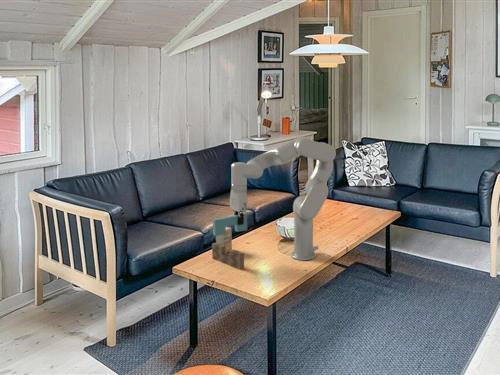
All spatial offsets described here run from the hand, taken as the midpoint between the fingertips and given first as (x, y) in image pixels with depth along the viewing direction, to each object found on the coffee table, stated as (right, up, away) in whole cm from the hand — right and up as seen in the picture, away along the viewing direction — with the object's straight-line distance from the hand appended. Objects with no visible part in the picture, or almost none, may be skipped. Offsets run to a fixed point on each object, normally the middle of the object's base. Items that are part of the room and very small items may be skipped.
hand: (238, 223), depth 251 cm
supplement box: (-8, -17, +18) cm, 26 cm away
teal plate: (-4, -4, -2) cm, 6 cm away
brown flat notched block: (-6, -20, +2) cm, 21 cm away
